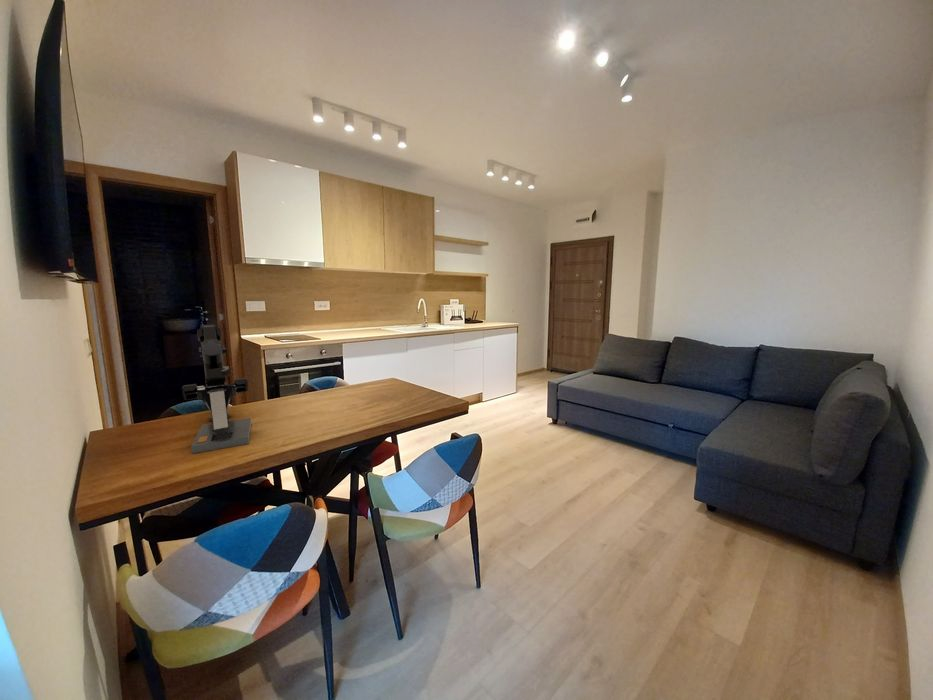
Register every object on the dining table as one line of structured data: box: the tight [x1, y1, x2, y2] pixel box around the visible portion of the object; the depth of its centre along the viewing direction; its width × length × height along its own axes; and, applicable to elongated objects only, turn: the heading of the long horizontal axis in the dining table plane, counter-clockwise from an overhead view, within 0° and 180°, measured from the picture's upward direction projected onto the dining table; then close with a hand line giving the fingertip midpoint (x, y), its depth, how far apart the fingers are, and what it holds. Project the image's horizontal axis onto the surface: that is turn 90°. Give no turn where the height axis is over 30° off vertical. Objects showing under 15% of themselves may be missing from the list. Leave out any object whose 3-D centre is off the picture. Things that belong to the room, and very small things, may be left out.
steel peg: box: [210, 388, 228, 429], centre depth 124 cm, size 4×4×13 cm
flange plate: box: [190, 417, 252, 454], centre depth 131 cm, size 22×16×3 cm
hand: (218, 409), depth 123 cm, fingers closed on steel peg, 4 cm apart
